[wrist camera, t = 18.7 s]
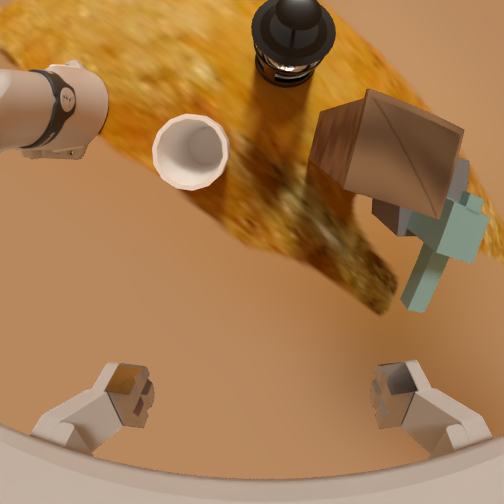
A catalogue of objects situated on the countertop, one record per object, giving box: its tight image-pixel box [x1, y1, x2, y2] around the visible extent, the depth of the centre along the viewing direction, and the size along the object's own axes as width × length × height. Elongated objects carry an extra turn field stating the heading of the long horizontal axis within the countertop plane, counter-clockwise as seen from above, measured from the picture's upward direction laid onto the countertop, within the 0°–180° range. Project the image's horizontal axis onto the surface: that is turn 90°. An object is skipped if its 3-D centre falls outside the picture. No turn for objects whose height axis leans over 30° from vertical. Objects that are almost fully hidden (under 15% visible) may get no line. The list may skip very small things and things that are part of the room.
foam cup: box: [152, 114, 230, 191], centre depth 43 cm, size 10×9×13 cm
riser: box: [372, 158, 469, 236], centre depth 44 cm, size 11×11×12 cm
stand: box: [308, 89, 464, 219], centre depth 36 cm, size 9×10×26 cm
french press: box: [251, 0, 336, 88], centre depth 32 cm, size 12×9×23 cm
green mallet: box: [401, 191, 490, 313], centre depth 36 cm, size 17×6×9 cm, turn 167°
